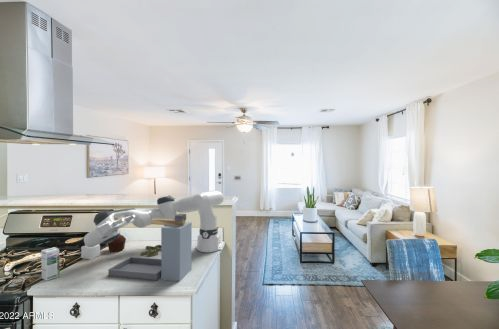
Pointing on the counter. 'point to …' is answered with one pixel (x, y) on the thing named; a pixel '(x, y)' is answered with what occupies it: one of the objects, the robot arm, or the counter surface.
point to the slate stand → (176, 251)
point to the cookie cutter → (151, 253)
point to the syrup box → (50, 263)
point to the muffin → (117, 244)
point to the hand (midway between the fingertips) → (128, 217)
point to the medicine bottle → (90, 252)
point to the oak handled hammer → (171, 221)
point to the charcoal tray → (137, 269)
